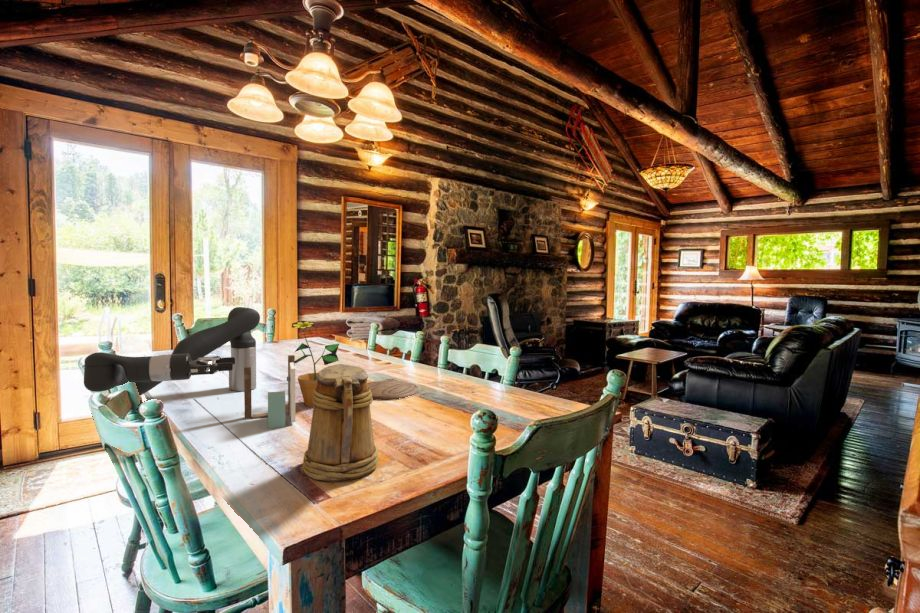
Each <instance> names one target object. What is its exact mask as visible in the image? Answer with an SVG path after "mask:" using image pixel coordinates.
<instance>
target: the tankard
mask: <svg viewBox="0 0 920 613" xmlns="http://www.w3.org/2000/svg"><path fill="white" fill-rule="evenodd" d="M316 373H317V375H316V378H317V386H316V387H315V388H314V392H313V400H312V401H313V403H314V406H312V408H313V409H312V416H311V425H310V430H309V439H308V444H307V449H306V450H305V452H304V454H303V460H302V471H303V472H304V474H306V476H308V477H309V478H312V479H314V480H318V481H323V482H335V483H336V482H343V481H352V480H353V481H354V480H356V479H360V478H362V477H364V476H367V475H369V474H370V473H372V472H373V471H375V470H376V468H377V467H378V465H379V464H380V463H379V455H378V454H379V452H378V449H377V446H376V445H375V441H374V440H375V439H374V432H373V431H374V430H373V423H372V422H373V421H372V414H371V405H372V403H373V401H374V399H373V398H372V392H371V388H370V387H369V386H368V383H369V382H368V378H369V375H368V373H367V371H366V370H365V369H364V368H362V367H359V366H355V365H349V364H343V363H337V364H334V365H333V364H332V365H329V366H326V367H324V368H322V369H320V370H319V371H318V372H316Z"/></svg>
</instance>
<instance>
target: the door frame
mask: <svg viewBox="0 0 920 613" xmlns="http://www.w3.org/2000/svg"><path fill="white" fill-rule="evenodd" d="M295 357H296V355H294V354H289V355H287V375H288V376H287V377H289V376H290V363H291V362H294V366H295V367H296V363H295V360H296V358H295ZM243 393H244V394H243V395H244V398H243V399H244V420H249V419H252V420H253V419H254V420H256V419H264V418H268V412H263V413H253V414H252V410H253V409H252V408H253V407H252V390H251V366H244V391H243ZM287 393H288V394H287V406H288V407H287V408H288V409H287V411H288V412H287V413H288V416H290V381H287Z"/></svg>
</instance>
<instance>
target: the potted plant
mask: <svg viewBox="0 0 920 613" xmlns="http://www.w3.org/2000/svg"><path fill="white" fill-rule="evenodd" d="M314 326H315V322H314V321H307V320H301V321H296V322H292V323H291V328H294V329H298V330H299V329H301V330H303V335H304V340H305V342H306V344H305V343H303V342H302V343H301V344H299V346H298V347H296V350H295V351H294V353H296V352H299V351H301V352H302V356H301V357H299V358H297V359H295V364H297V363H300V362H301V361H303V360H305V359H306V358H308V357H311V358H312V363H313V372H309V373H305V374H300V375H298V376H297V382H298V384H299V389H300V391H301V392H300V393H301V395H302V399H303V402H304V405H305V406H308V407H314V403H313V401H312V400H313V392H314V388H315V387H316V386H317V378H316V375H317V373H318V372H317V371H316V364H318V362H319V360H321V359H322V361H323V365H324V366H327V365H330V364H333V363H336V362H339V357H338V355H337V352H338V349H339V345H340V343H333V344H327V345H325V346H324V350H323V352H322V354H321V356H320V357H319V358H318V359H317V360H316V361H315V360H314V356H313V352H312V348H311V346H310V345H309V342H308V340H307V338H306V333H305V330H304V329H308V328H312V327H314ZM305 349H308V350H309V352H310V354H306V353H305V352H304V350H305ZM325 350H327V351H328V352H329V353H328V354H325V355H324V353H325V352H326V351H325Z"/></svg>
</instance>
